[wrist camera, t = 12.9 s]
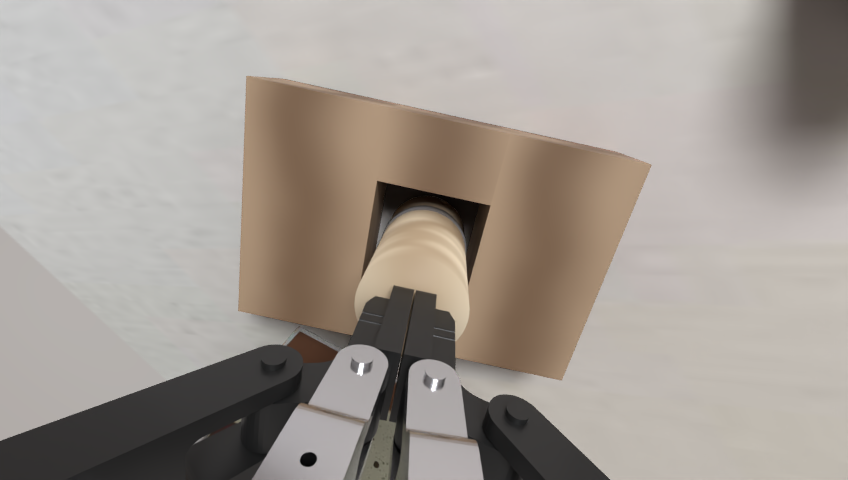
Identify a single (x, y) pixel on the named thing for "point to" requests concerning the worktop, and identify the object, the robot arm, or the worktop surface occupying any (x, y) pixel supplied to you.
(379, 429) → the food container
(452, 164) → the board
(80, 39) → the worktop surface
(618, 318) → the worktop surface
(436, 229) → the peg
